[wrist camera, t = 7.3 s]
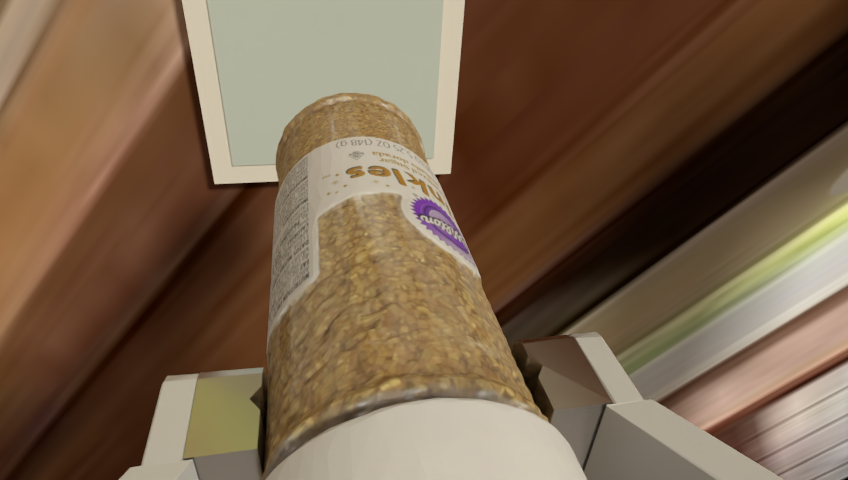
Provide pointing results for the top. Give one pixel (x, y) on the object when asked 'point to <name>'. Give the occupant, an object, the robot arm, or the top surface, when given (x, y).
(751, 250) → the top surface
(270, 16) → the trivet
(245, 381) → the robot arm
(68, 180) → the top surface
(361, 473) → the sprinkles bottle
